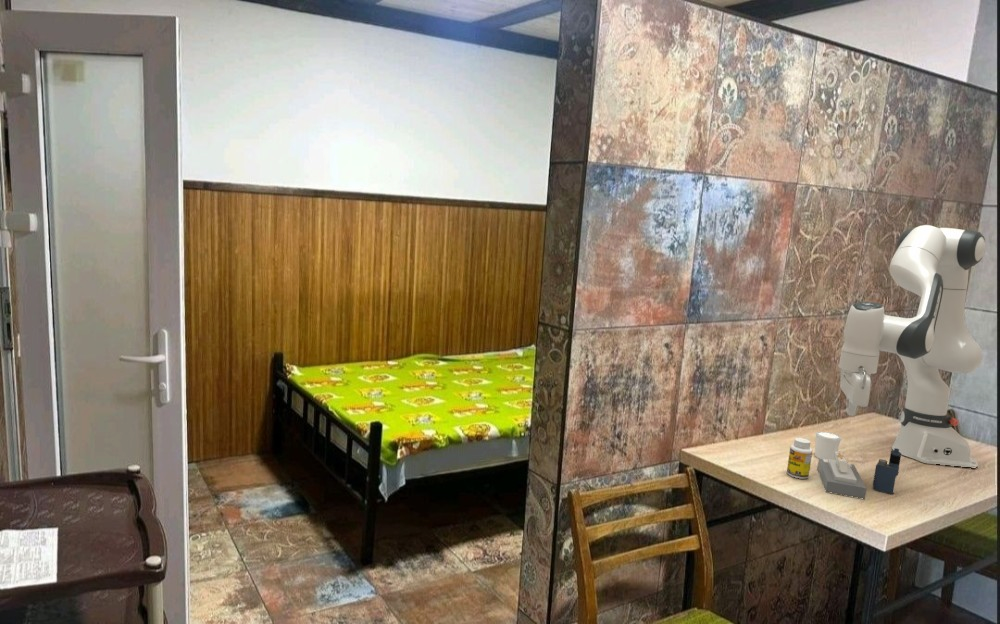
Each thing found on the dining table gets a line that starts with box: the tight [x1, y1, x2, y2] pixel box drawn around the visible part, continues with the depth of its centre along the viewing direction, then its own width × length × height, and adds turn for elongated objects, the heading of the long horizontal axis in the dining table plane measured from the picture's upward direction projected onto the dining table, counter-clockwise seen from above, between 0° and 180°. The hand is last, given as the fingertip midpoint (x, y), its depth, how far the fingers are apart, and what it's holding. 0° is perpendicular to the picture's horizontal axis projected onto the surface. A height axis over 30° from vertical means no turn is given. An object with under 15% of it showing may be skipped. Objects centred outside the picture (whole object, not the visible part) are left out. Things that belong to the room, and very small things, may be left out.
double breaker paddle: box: [835, 450, 848, 472], centre depth 177 cm, size 2×8×3 cm, turn 161°
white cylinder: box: [814, 431, 842, 460], centre depth 197 cm, size 7×7×7 cm
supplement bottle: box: [786, 437, 813, 480], centre depth 180 cm, size 6×6×10 cm
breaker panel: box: [816, 458, 867, 500], centre depth 177 cm, size 9×18×4 cm, turn 161°
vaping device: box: [872, 448, 902, 495], centre depth 173 cm, size 3×5×12 cm, turn 58°
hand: (850, 414), depth 175 cm, fingers closed
